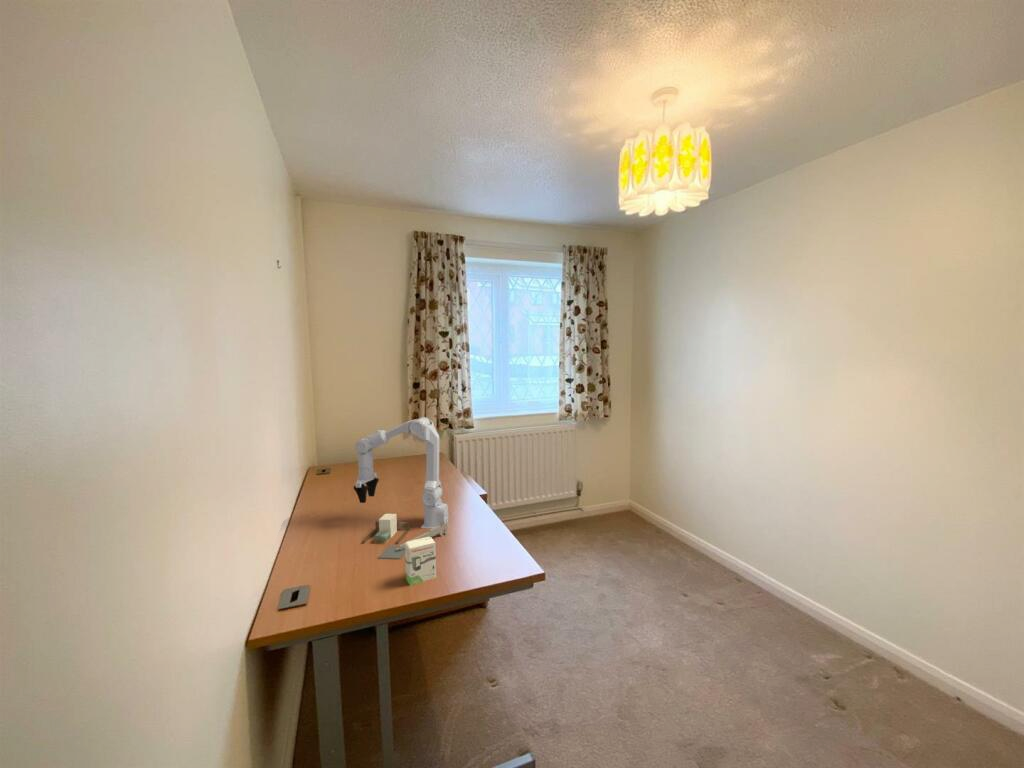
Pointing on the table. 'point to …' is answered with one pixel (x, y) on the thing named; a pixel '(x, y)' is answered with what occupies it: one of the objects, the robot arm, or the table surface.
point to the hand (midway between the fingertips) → (367, 499)
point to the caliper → (429, 533)
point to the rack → (399, 527)
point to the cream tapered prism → (388, 524)
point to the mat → (392, 553)
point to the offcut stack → (382, 537)
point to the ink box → (420, 560)
